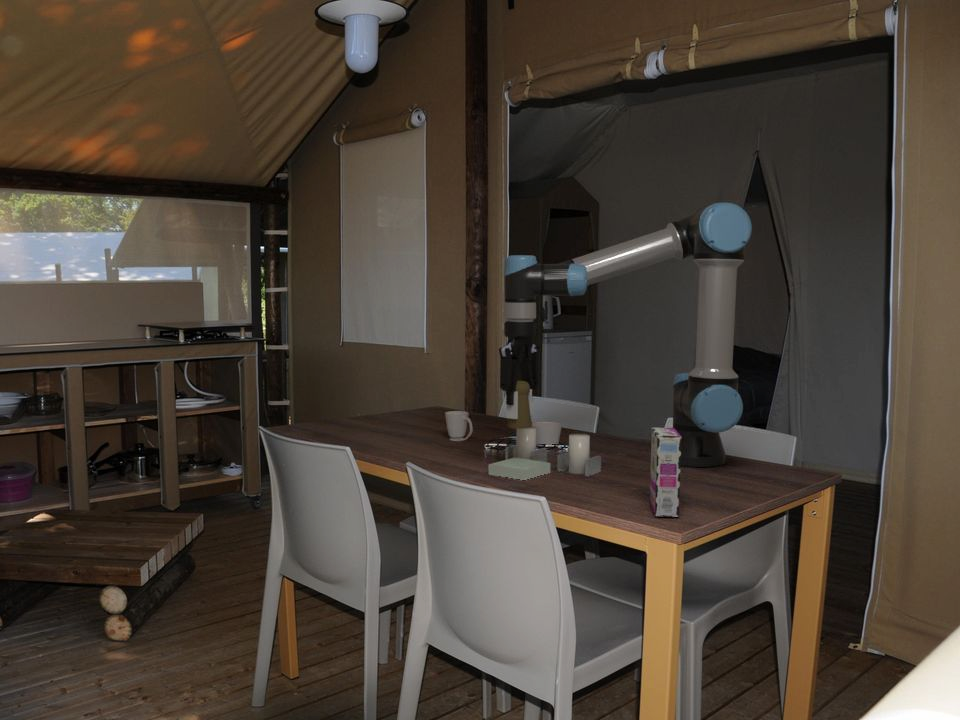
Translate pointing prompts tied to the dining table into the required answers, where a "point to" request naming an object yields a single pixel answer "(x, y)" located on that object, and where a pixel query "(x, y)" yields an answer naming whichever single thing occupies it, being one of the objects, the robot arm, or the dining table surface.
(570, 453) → the cream jar
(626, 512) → the dining table surface
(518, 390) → the cork
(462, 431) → the cup
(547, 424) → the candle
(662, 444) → the candy bar box
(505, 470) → the tray
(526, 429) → the cream rounded capsule
